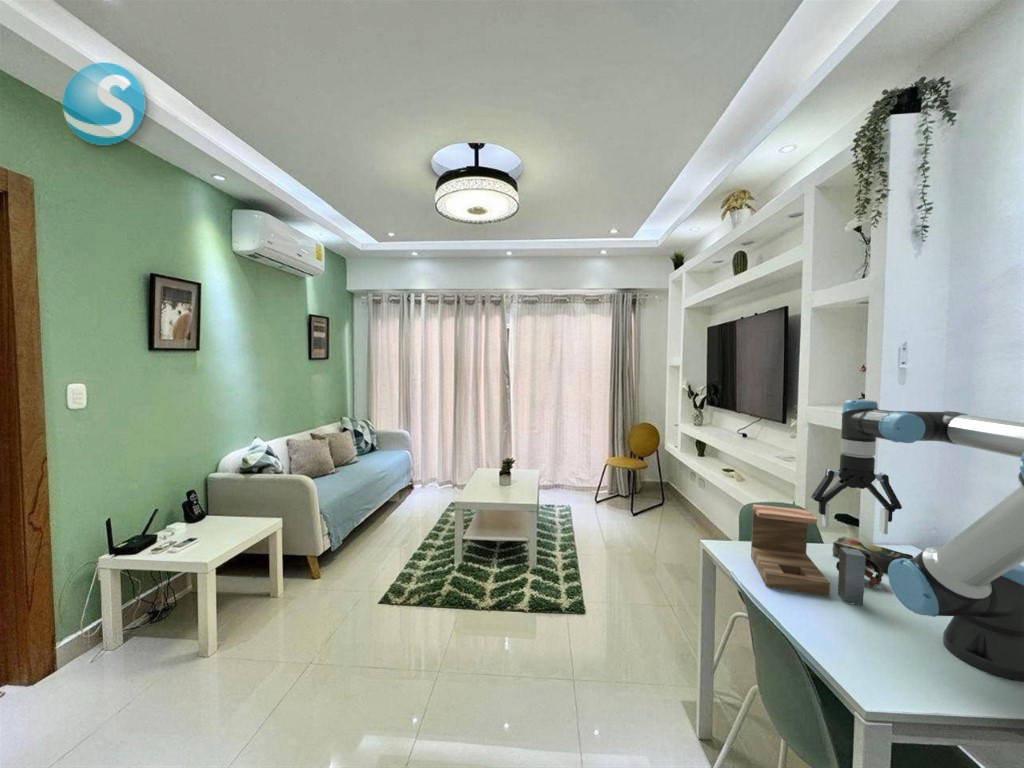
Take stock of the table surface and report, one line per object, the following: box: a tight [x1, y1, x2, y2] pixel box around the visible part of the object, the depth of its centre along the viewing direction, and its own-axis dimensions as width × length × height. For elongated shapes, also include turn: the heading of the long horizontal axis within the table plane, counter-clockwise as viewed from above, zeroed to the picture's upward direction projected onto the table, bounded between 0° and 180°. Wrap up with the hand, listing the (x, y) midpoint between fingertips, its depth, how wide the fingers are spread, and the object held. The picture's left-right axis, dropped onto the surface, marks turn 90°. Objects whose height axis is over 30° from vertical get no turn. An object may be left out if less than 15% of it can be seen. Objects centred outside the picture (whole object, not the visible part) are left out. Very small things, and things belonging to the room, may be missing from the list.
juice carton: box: [831, 536, 914, 575], centre depth 142 cm, size 20×10×6 cm, turn 35°
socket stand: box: [750, 503, 831, 597], centre depth 133 cm, size 21×16×18 cm
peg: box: [837, 548, 866, 606], centre depth 119 cm, size 4×4×14 cm
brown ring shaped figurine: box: [835, 558, 884, 588], centre depth 130 cm, size 12×10×8 cm
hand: (853, 529), depth 119 cm, fingers open, 13 cm apart
